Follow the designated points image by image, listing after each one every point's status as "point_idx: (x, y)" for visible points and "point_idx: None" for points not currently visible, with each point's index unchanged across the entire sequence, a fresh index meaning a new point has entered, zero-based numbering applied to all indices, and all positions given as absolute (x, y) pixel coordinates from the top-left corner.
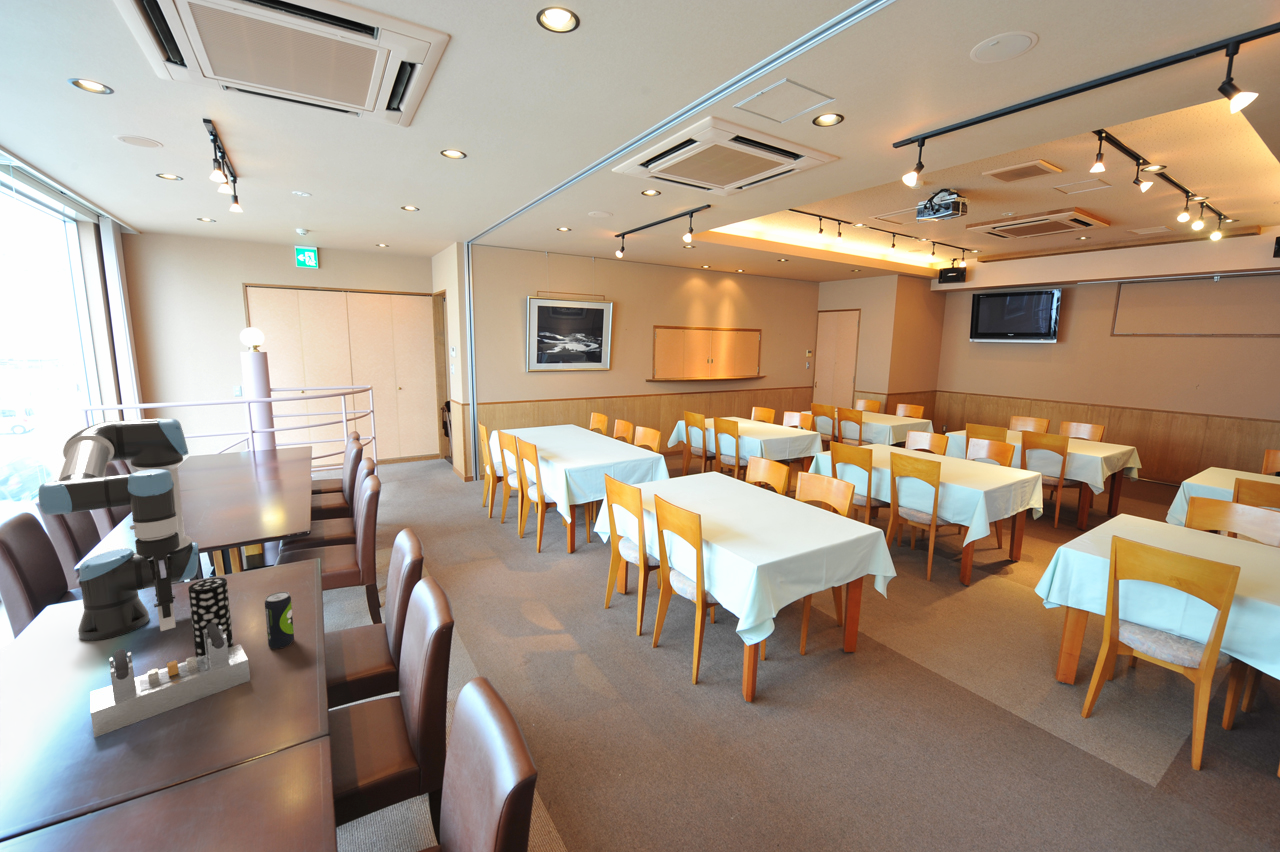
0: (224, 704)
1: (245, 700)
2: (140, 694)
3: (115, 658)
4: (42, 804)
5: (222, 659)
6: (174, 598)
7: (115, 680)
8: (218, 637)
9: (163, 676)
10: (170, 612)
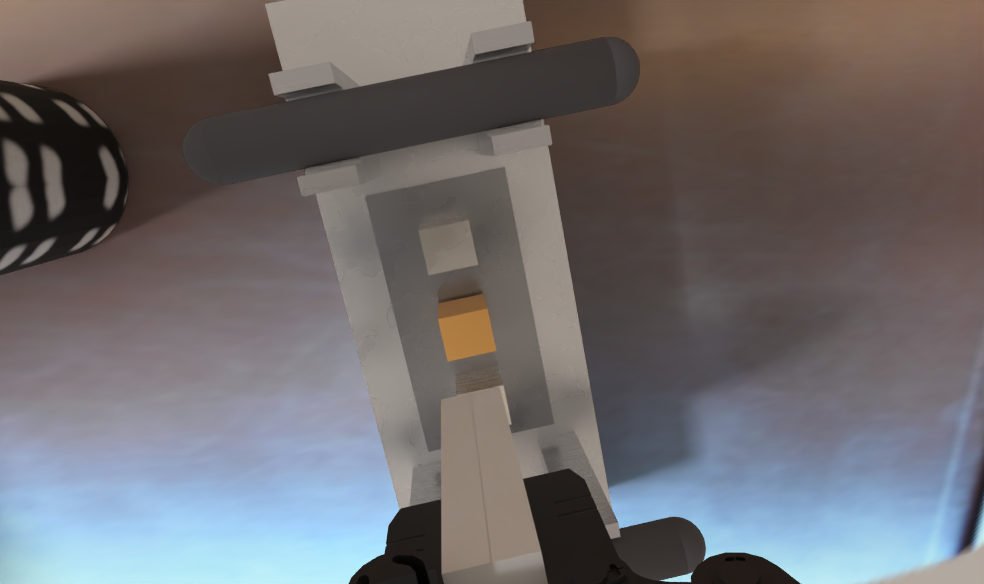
0: (649, 95)
1: (674, 10)
2: (579, 417)
3: None
4: (874, 528)
5: None
6: (413, 557)
7: None
8: (550, 73)
9: None
10: (592, 500)
